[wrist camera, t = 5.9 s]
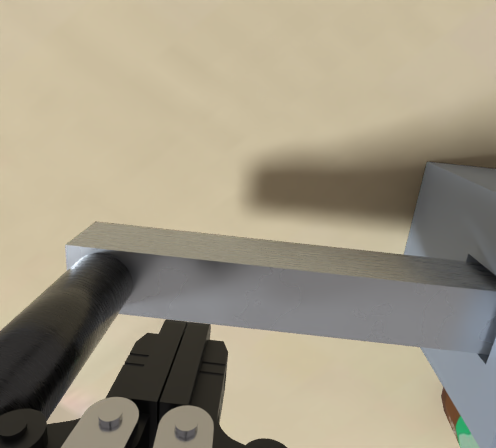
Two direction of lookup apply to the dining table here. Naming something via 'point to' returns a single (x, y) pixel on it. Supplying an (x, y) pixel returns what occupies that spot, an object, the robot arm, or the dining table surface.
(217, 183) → the dining table surface
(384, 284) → the grey lever black handle
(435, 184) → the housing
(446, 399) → the food container
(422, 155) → the dining table surface
